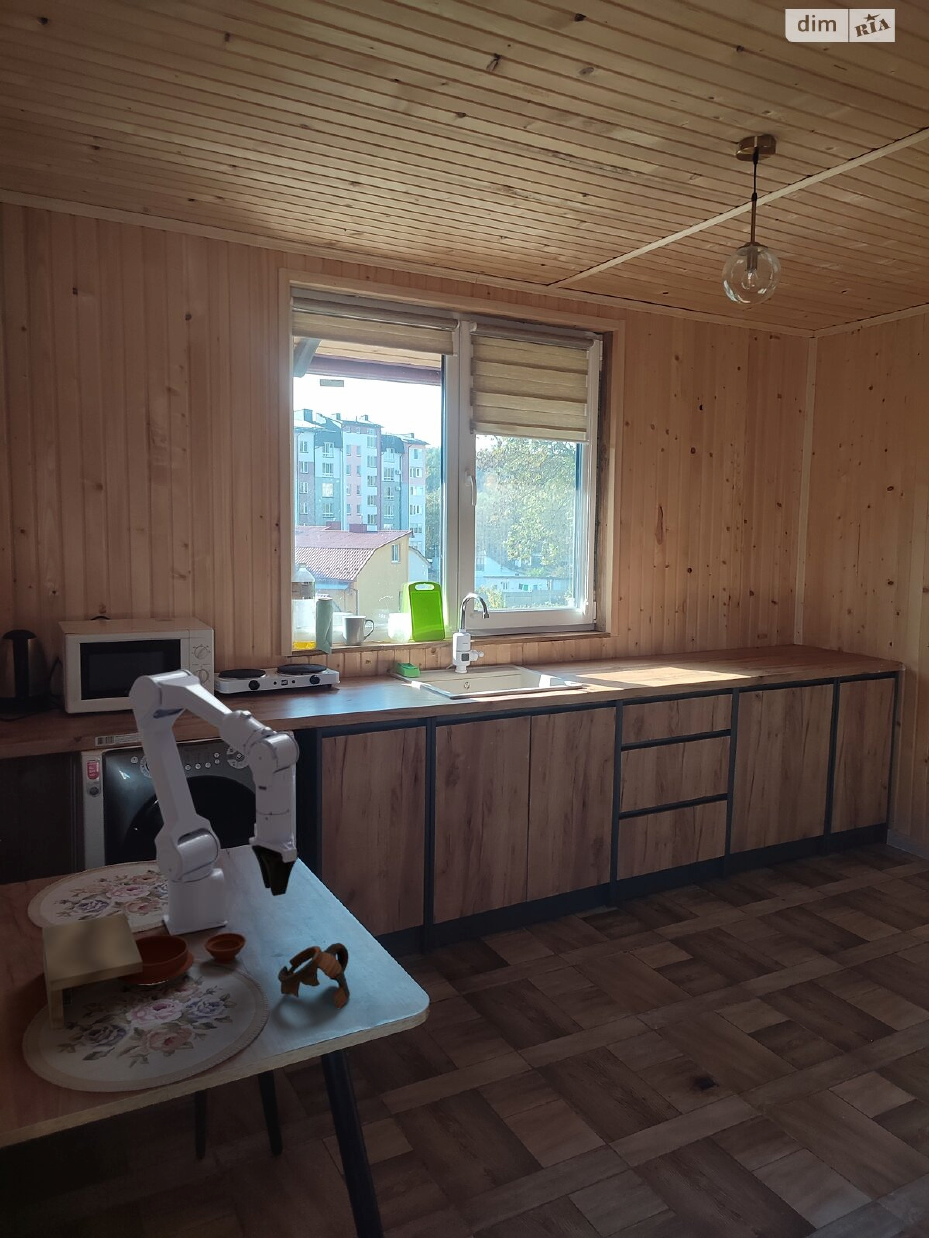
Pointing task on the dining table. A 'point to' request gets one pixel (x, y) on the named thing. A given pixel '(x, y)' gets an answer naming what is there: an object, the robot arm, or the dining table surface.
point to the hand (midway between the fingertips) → (275, 890)
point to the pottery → (178, 956)
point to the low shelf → (86, 957)
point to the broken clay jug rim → (309, 971)
